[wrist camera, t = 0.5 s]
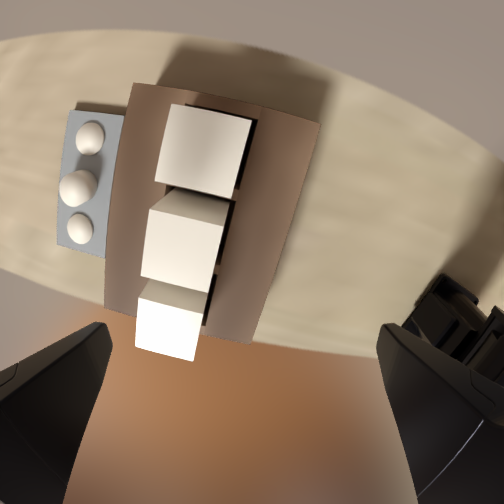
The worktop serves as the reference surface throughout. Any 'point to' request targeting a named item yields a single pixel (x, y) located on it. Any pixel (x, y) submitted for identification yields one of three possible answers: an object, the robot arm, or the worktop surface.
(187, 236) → the button middle
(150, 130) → the board
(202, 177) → the button
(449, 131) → the worktop surface
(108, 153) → the card
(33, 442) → the robot arm
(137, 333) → the button
